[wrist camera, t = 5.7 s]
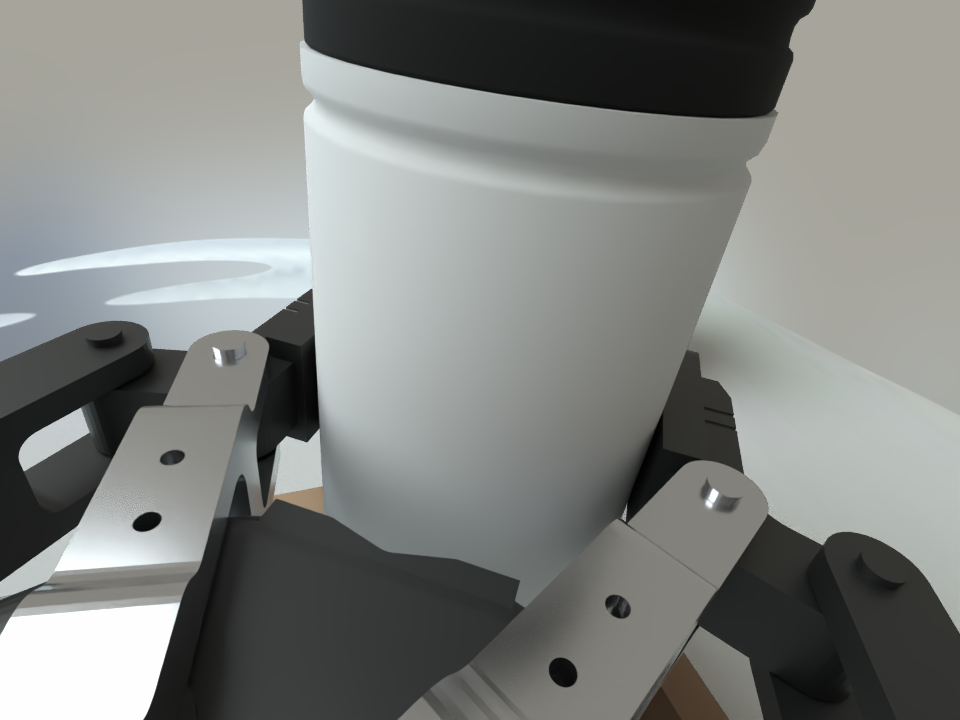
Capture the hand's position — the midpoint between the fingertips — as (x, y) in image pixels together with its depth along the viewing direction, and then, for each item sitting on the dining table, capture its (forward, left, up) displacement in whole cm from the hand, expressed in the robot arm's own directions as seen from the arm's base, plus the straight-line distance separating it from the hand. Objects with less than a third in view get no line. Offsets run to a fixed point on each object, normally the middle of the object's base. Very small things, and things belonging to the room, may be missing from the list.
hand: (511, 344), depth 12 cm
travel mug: (+1, +2, -11) cm, 11 cm away
